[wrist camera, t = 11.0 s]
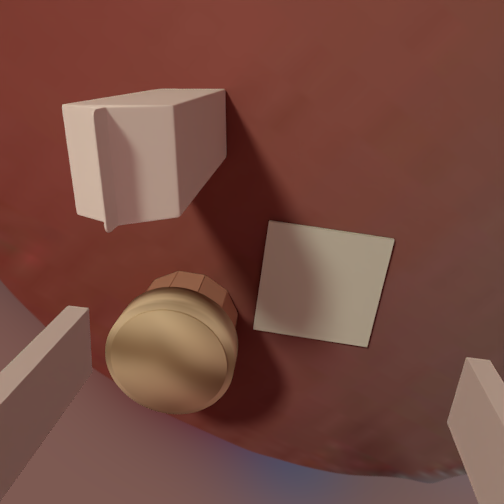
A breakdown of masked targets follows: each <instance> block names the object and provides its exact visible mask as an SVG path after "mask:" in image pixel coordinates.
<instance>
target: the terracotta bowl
mask: <svg viewBox="0 0 504 504" xmlns="http://www.w3.org/2000/svg"><path fill="white" fill-rule="evenodd" d="M161 287H182V288H187V289H191V290H194V291H197V292H199V293H201V294H204V295H206V296H207V297H209V298H210V299H212V300H213V301H215V302H216V303H217V304H218V305H219V306H220V307H221V308H222V309H223V310H224V311H225V312H226V313H227V314H228V316H229V317H230V319H231V321H232V322H233V325H234V327H235V329H236V325H237V317H238V312H237V310H236V308H235V306H234V304H233V302H232V300H231V298H230V296H229V293H228V291H227V290H225V289H224V288H223V287H221V286H220V285H218V284H217V283H216V282H214V281H213V280H211V279H210V278H209V277H207V276H205V275H201V274H195V273H188V272H182V271H179V272H178V271H177V272H174V273H172V274H169V275H166V276H163V277H161V278H158V279H155V280H154V281H153V283H152V284H151V285H150V286H149V288H148V289H147V290H146V292H147V291H149V290H153V289H156V288H161Z"/></svg>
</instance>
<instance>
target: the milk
mask: <svg viewBox="0 0 504 504" xmlns="http://www.w3.org/2000/svg"><path fill="white" fill-rule="evenodd" d="M62 111H63V119H64V126H65V133H66V140H67V147H68V154H69V161H70V168H71V175H72V182H73V189H74V196H75V203H76V210H77V214H78V215H81V216H85V217H88V218H92V219H95V220H99V221H103V222H104V226H105V230H106V232H111V231H112V230H113V229H114V228H116V227H117V226H118V225H124V224H132V223H139V222H147V221H155V220H162V219H170V218H177V217H180V216H181V214H182V213H183V212H184V211H185V209H186V208H187V207H188V205H189V204H190V203H191V202H192V200H193V199H194V198H195V196H196V195H197V194H198V193H199V191H200V190H201V189H202V188H203V186H204V185H205V184H206V182H207V181H208V180H209V179H210V177H211V176H212V175H213V173H214V172H215V171H216V170H217V168H218V167H219V166H220V165H221V163H222V162H223V161H224V159H225V158H226V157H227V146H226V97H225V89H156V90H150V91H143V92H137V93H131V94H125V95H119V96H112V97H106V98H100V99H94V100H88V101H81V102H75V103H69V104H63V105H62Z"/></svg>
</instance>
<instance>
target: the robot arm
mask: <svg viewBox="0 0 504 504" xmlns="http://www.w3.org/2000/svg"><path fill="white" fill-rule="evenodd" d="M91 373H92V359H91V340H90V322H89V308H83V307H75V306H67V307H66V308H65V309H64V310H63V311H62V312H61V313H60V314H59V315H58V316H57V317H56V318H55V319H54V320H53V321H52V322H51V323H50V324H49V325H48V326H47V327H46V328H45V329H44V330H43V331H42V332H41V333H40V334H39V335H38V336H37V337H36V338H35V339H34V340H33V341H32V342H31V343H30V344H29V345H28V346H27V347H26V348H24V350H22V351H21V352H20V353H19V354H18V355H17V357H15V358H14V359H13V360H12V361H11V363H9V364H8V365H7V366H6V367H5V368H4V369H3V370H2V371H1V372H0V501H1V500H2V498H3V497H4V496H5V494H6V493H7V491H8V490H9V489H10V487H11V486H12V484H13V483H14V482H15V480H16V479H17V477H18V476H19V475H20V473H21V472H22V470H23V469H24V468H25V466H26V465H27V463H28V462H29V460H30V459H31V458H32V456H33V455H34V453H35V452H36V451H37V449H38V448H39V447H40V445H41V444H42V442H43V441H44V440H45V438H46V437H47V435H48V434H49V432H50V431H51V430H52V428H53V427H54V425H55V424H56V423H57V421H58V420H59V418H60V417H61V416H62V414H63V413H64V411H65V410H66V409H67V407H68V406H69V404H70V403H71V402H72V400H73V399H74V397H75V396H76V395H77V393H78V392H79V390H80V389H81V388H82V386H83V385H84V383H85V382H86V381H87V379H88V378H89V376H90V375H91ZM447 423H448V426H449V429H450V431H451V434H452V436H453V439H454V441H455V444H456V447H457V449H458V452H459V454H460V457H461V459H462V462H463V465H464V467H465V470H466V472H467V475H468V477H469V480H470V483H471V485H472V487H473V490H474V493H475V495H476V498H477V501H478V503H479V504H504V382H503V381H502V379H501V378H500V376H499V374H498V373H497V371H496V370H495V368H494V366H493V365H492V363H491V361H490V360H484V359H476V358H469V357H466V360H465V363H464V367H463V370H462V373H461V377H460V380H459V384H458V387H457V390H456V394H455V397H454V400H453V404H452V407H451V411H450V414H449V417H448V421H447Z"/></svg>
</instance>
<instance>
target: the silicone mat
mask: <svg viewBox="0 0 504 504" xmlns="http://www.w3.org/2000/svg"><path fill="white" fill-rule="evenodd" d="M393 244H394V239H393V238H387V237H380V236H373V235H366V234H360V233H353V232H346V231H339V230H332V229H326V228H319V227H312V226H305V225H299V224H292V223H285V222H278V221H272V220H269V224H268V231H267V237H266V244H265V251H264V258H263V265H262V271H261V278H260V285H259V292H258V299H257V306H256V312H255V319H254V326H253V330H260V331H266V332H273V333H279V334H285V335H292V336H298V337H304V338H311V339H317V340H324V341H330V342H336V343H343V344H349V345H356V346H362V347H367V346H368V342H369V338H370V334H371V330H372V326H373V323H374V319H375V315H376V311H377V307H378V303H379V299H380V295H381V291H382V287H383V283H384V280H385V276H386V272H387V268H388V264H389V260H390V256H391V252H392V248H393Z"/></svg>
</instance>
